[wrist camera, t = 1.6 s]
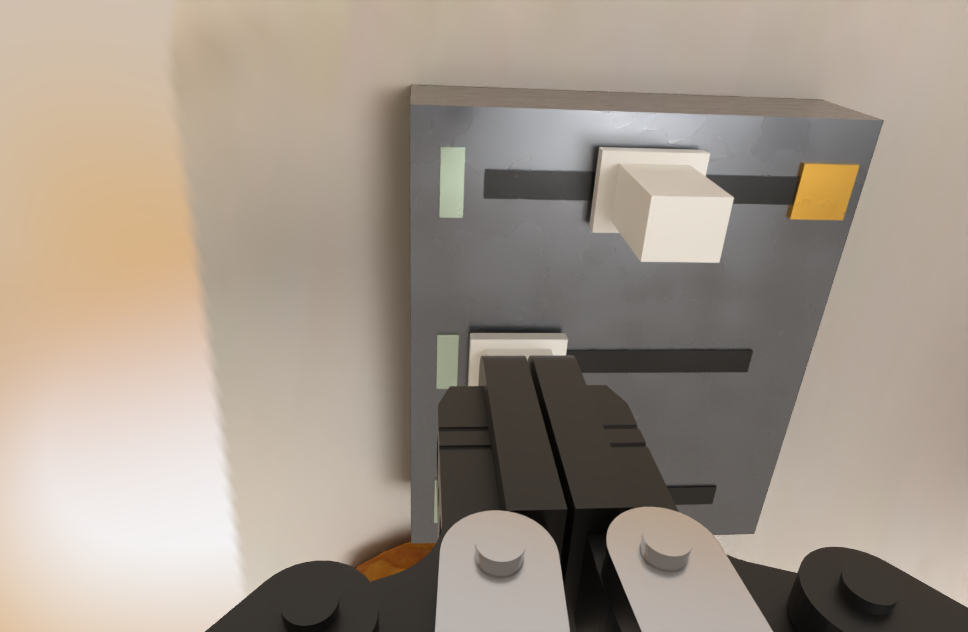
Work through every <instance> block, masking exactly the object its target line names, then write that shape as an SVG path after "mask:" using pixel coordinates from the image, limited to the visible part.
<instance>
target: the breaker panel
mask: <svg viewBox="0 0 968 632" xmlns="http://www.w3.org/2000/svg"><path fill="white" fill-rule="evenodd" d="M883 121H884V120H881V119H878V118H875V117H872V116H869V115H866V114H863V113H860V112H857V111H854V110H851V109H848V108H845V107H842V106H839V105H836V104H833V103H830V102H827V101H824V100H815V99H788V98H760V97H733V96H706V95H678V94H651V93H624V92H597V91H569V90H542V89H515V88H487V87H460V86H433V85H411V96H410V318H411V543H436V542H437V540H438V521H437V488H436V465H437V413H438V404H439V402H440V401H441V399H442V398H443V396H444V395H445V393H446V392H447V390H448V389H449V387H450V386H468V368H469V345H470V333H566V336H567V339H568V343H567V352H566V355H573V356H575V358H576V360H577V362H578V365H579V367H580V370H581V372H582V375H583V377H584V380H585V383H586V385H607V386H608V387H609V388H610V389H611V390H613V391H614V392H615V393H616V394H617V395H618V396H620V397H621V398H622V399H623V400H624V401H625V402H626V403H628V406H629V408H630V410H631V412H632V414H633V416H634V418H635V420H636V422H637V428H638V429H640V431H641V433H642V435H643V437H644V439H645V441H646V447H648V448H649V450H650V452H651V454H652V456H653V458H654V461H655V463H656V465H657V467H658V469H659V471H660V473H661V475H662V477H663V480H664V482H665V484H666V486H667V488H668V490H669V492H670V494H671V496H672V499H673V501H674V503H675V505H676V507H677V509H678V511H679V513H682V514H684V515H686V516H689V517H691V518H692V519H694V520H696V521H697V522H699V523H700V524H701V525H703V526H704V527H705V528H707V529H708V530H709V531H710V532H711V533H712V534H713V535H730V534H754V532H755V529H756V526H757V523H758V520H759V516H760V513H761V510H762V507H763V504H764V501H765V497H766V494H767V491H768V488H769V485H770V481H771V478H772V475H773V472H774V469H775V465H776V462H777V459H778V456H779V453H780V449H781V446H782V443H783V440H784V437H785V434H786V430H787V427H788V424H789V421H790V418H791V414H792V411H793V408H794V405H795V402H796V398H797V395H798V392H799V389H800V386H801V383H802V379H803V376H804V373H805V370H806V367H807V363H808V360H809V357H810V354H811V351H812V347H813V344H814V341H815V338H816V335H817V331H818V328H819V325H820V322H821V319H822V316H823V312H824V309H825V306H826V303H827V300H828V296H829V293H830V290H831V287H832V284H833V280H834V277H835V274H836V271H837V268H838V264H839V261H840V258H841V255H842V252H843V249H844V245H845V242H846V239H847V236H848V233H849V229H850V226H851V223H852V220H853V217H854V213H855V210H856V207H857V204H858V201H859V197H860V194H861V191H862V188H863V185H864V182H865V178H866V175H867V172H868V169H869V166H870V162H871V159H872V156H873V153H874V150H875V146H876V143H877V140H878V137H879V134H880V130H881V127H882V124H883ZM599 147H619V148H654V149H689V150H705V151H707V152H709V153H710V157H709V162H708V167H707V172H706V177H707V178H708V179H710V180H711V181H712V182H714V183H715V184H716V185H718V186H719V187H720V188H722V189H723V190H724V191H726V192H727V193H729V194H730V195H731V196H733V197H734V200H733V204H732V209H731V213H730V218H729V222H728V227H727V231H726V235H725V240H724V244H723V249H722V253H721V258H720V262H719V263H701V262H641V261H640V260H639V259H638V257H637V256H636V255H635V253H634V252H633V251H632V249H631V248H630V247H629V245H628V244H627V243H626V241H625V240H624V239H623V237H622V236H621V234H620V233H592V231H591V230H590V228H589V224H590V216H591V208H592V200H593V192H594V184H595V176H596V168H597V160H598V152H599Z"/></svg>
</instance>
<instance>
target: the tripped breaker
mask: <svg viewBox="0 0 968 632" xmlns="http://www.w3.org/2000/svg"><path fill="white" fill-rule="evenodd" d="M709 157H710V153H709V152H707V151H705V150H689V149H654V148H619V147H599V152H598V160H597V168H596V176H595V184H594V192H593V200H592V208H591V216H590V224H589V228H590V230H591V231H592V233H620V234H621V236H622V237H623V239H624V240H625V241H626V243H627V244H628V245H629V247H630V248H631V249H632V251H633V252H634V253H635V255H636V256H637V257H638V259H639V260H640V261H641V262H701V263H719V262H720V258H721V253H722V249H723V244H724V240H725V235H726V231H727V227H728V222H729V218H730V213H731V209H732V204H733V200H734V197H733V196H731V195H730V194H729V193H727V192H726V191H724V190H723V189H722V188H720V187H719V186H718V185H716V184H715V183H714V182H712V181H711V180H710V179H708V178H707V177H706V172H707V167H708V162H709Z"/></svg>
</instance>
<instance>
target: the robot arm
mask: <svg viewBox="0 0 968 632" xmlns="http://www.w3.org/2000/svg"><path fill="white" fill-rule="evenodd" d="M436 488H437V521H438V540H437V542H436V544H435V546H434V547H433V548H432V550H431V551H430V552H429V553H428V554H427V555H426V556H425V557H424V558H423V559H422V560H420V561H419V562H418V563H416V564H415V565H413V566H411V567H410V568H408V569H406V570H404V571H401V572H399V573H396V574H393V575H390V576H387V577H384V578H381V579H377V580H374V581H371V582H370V581H369V580H368V579H367V577H366V576H365V575H364V574H362V573H361V572H360V571H358V570H357V569H355V568H353V567H351V566H349V565H346V564H343V563H339V562H333V561H311V562H305V563H301V564H297V565H294V566H291V567H289V568H286V569H284V570H282V571H280V572H279V573H277V574H275V575H273V576H272V577H271V578H269V579H268V580H267V581H265V582H264V583H263V584H262V585H260V586H259V587H258V588H257V589H256V590H254V591H253V592H252V593H251V594H250V595H248V596H247V597H246V598H245V599H244V600H242V601H241V602H240V603H239V604H238V605H236V606H235V607H234V608H233V609H232V610H230V611H229V612H228V613H227V614H226V615H224V616H223V617H222V618H221V619H220V620H219V621H218V622H216V623H215V624H214V625H212V626H211V627H210V628H209V629H208V630H206V631H205V632H968V608H967V607H965V606H963V605H962V604H960V603H958V602H956V601H955V600H953V599H951V598H949V597H948V596H946V595H944V594H942V593H940V592H939V591H937V590H935V589H933V588H932V587H930V586H928V585H926V584H925V583H923V582H921V581H919V580H918V579H916V578H914V577H912V576H910V575H909V574H907V573H905V572H903V571H902V570H900V569H898V568H896V567H895V566H893V565H891V564H889V563H887V562H885V561H883V560H882V559H880V558H878V557H875V556H873V555H870V554H868V553H865V552H862V551H858V550H855V549H849V548H844V547H825V548H821V549H817V550H815V551H813V552H811V553H809V554H808V555H807V556H806V557H805V558H804V559H803V561H802V563H801V565H800V568H799V570H798V573H794V572H790V571H785V570H781V569H777V568H772V567H768V566H763V565H759V564H755V563H750V562H746V561H743V560H739V559H736V558H734V557H731V556H729V555H726V554H725V552H724V550H723V549H722V547H721V545H720V544H719V542H718V541H717V540H716V538H715V537H714V536H713V534H712V533H711V532H710V531H709V530H708V529H707V528H705V527H704V526H703V525H701V524H700V523H699V522H697V521H696V520H694V519H692V518H691V517H689V516H686V515H684V514H682V513H679V511H678V509H677V507H676V505H675V503H674V501H673V499H672V496H671V494H670V492H669V490H668V488H667V486H666V484H665V482H664V480H663V477H662V475H661V473H660V471H659V469H658V467H657V465H656V463H655V461H654V458H653V456H652V454H651V452H650V450H649V448H648V447H646V441H645V439H644V437H643V435H642V433H641V431H640V429H638V428H637V422H636V420H635V418H634V416H633V414H632V412H631V410H630V408H629V406H628V403H626V402H625V401H624V400H623V399H622V398H621V397H620V396H618V395H617V394H616V393H615V392H614V391H613V390H611V389H610V388H609V387H608V386H607V385H586V383H585V380H584V377H583V375H582V372H581V370H580V367H579V365H578V362H577V360H576V358H575V356H573V355H554V356H529V358H528V361H527V358H526V356H481V358H480V366H479V384H478V386H450V387H449V389H448V390H447V392H446V393H445V395H444V396H443V398H442V399H441V401H440V402H439V404H438V413H437V465H436Z"/></svg>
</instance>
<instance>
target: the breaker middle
mask: <svg viewBox="0 0 968 632" xmlns="http://www.w3.org/2000/svg"><path fill="white" fill-rule="evenodd" d="M567 343H568V339H567V336H566V333H470V345H469V368H468V386H478V384H479V366H480V358H481V356H526V358H527V361H528V358H529V356H554V355H566V352H567Z"/></svg>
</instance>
